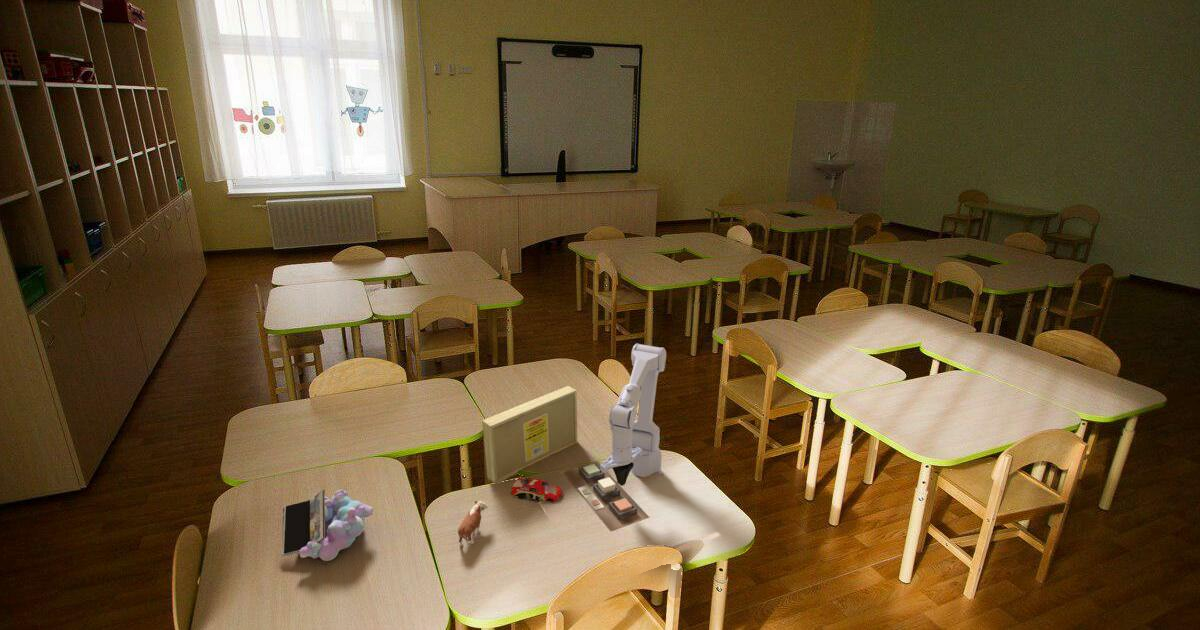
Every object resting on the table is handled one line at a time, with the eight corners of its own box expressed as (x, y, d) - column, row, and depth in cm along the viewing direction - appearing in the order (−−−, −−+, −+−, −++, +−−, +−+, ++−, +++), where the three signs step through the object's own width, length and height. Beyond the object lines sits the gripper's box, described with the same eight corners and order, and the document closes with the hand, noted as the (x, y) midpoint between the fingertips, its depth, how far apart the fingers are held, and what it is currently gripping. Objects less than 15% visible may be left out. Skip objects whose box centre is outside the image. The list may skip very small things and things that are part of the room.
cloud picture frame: (392, 522, 178) (363, 466, 177) (330, 569, 160) (296, 507, 159) (351, 534, 189) (323, 481, 188) (288, 579, 170) (257, 521, 169)
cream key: (609, 483, 199) (609, 477, 198) (615, 490, 195) (615, 484, 195) (597, 487, 197) (597, 480, 196) (603, 494, 194) (604, 487, 193)
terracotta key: (625, 504, 191) (625, 498, 190) (632, 512, 188) (632, 505, 187) (613, 508, 189) (613, 502, 188) (620, 516, 186) (620, 509, 185)
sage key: (594, 470, 207) (594, 463, 206) (599, 476, 204) (599, 470, 203) (583, 473, 206) (583, 467, 205) (588, 480, 202) (588, 473, 201)
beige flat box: (569, 439, 227) (568, 385, 219) (578, 444, 224) (577, 389, 216) (486, 478, 205) (482, 419, 197) (494, 485, 202) (490, 425, 194)
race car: (566, 494, 198) (565, 481, 196) (558, 507, 192) (558, 494, 190) (517, 485, 202) (517, 471, 200) (509, 497, 196) (508, 484, 194)
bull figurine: (491, 521, 185) (489, 498, 182) (467, 552, 173) (465, 528, 171) (478, 518, 187) (476, 495, 184) (453, 549, 175) (451, 524, 172)
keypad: (597, 464, 213) (597, 456, 212) (649, 519, 186) (649, 511, 185) (562, 474, 207) (562, 467, 206) (610, 534, 181) (610, 525, 180)
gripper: (631, 429, 189) (630, 468, 194) (593, 446, 181) (593, 486, 186) (647, 439, 184) (646, 479, 189) (609, 457, 176) (608, 498, 181)
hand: (621, 483), depth 187 cm, fingers closed
